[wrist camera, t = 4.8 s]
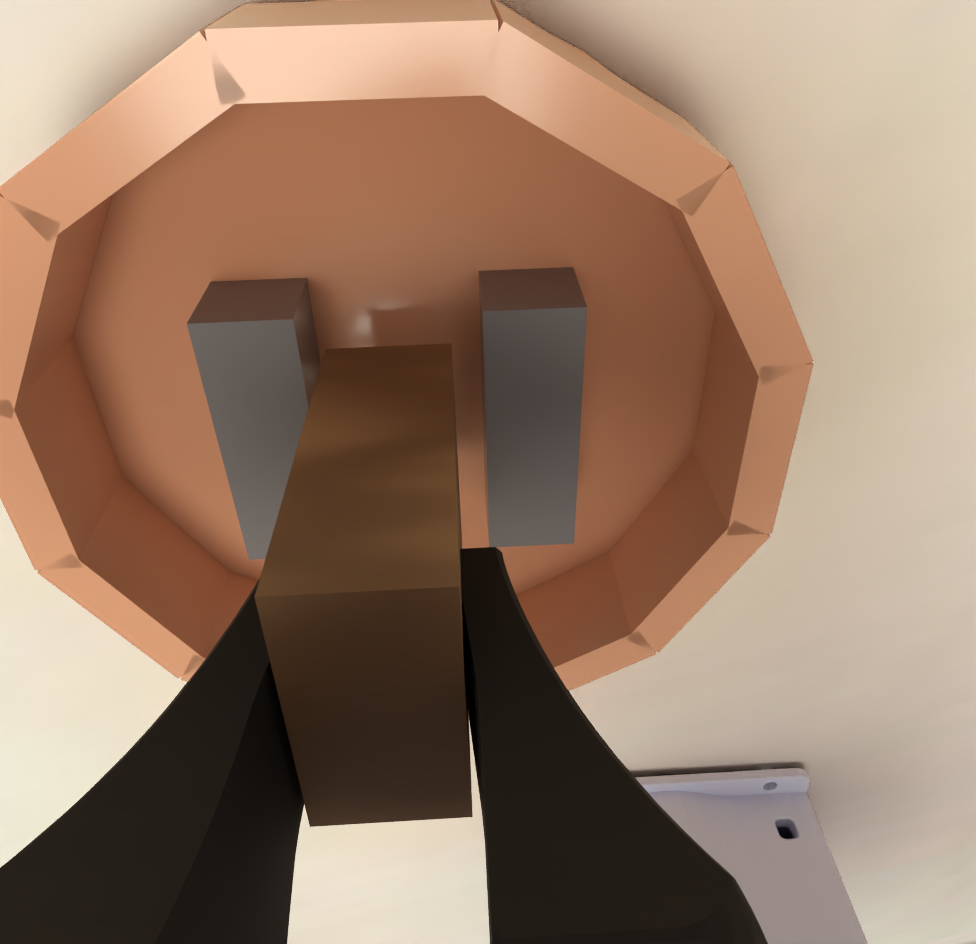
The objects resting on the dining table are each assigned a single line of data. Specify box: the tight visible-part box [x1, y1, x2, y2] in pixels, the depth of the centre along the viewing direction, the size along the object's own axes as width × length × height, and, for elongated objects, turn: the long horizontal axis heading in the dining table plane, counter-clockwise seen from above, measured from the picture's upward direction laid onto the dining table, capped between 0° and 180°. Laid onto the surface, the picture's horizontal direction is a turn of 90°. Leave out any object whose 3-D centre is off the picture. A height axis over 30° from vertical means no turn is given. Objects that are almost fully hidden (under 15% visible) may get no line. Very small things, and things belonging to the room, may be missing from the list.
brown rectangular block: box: [255, 343, 472, 827], centre depth 14 cm, size 2×4×7 cm, turn 1°
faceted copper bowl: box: [0, 0, 813, 714], centre depth 18 cm, size 16×16×4 cm
